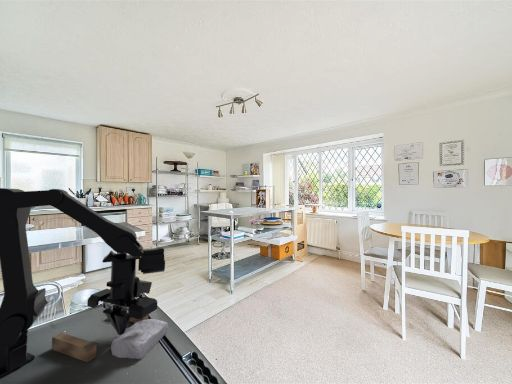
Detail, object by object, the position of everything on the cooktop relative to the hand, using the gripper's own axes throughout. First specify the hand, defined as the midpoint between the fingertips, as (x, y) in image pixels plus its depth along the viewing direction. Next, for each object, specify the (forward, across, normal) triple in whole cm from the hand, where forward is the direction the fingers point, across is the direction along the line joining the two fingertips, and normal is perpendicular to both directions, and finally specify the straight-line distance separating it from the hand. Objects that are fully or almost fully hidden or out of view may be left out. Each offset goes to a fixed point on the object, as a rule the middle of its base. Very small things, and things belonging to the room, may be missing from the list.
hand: (121, 334), depth 60 cm
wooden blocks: (+1, +6, 0) cm, 6 cm away
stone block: (+2, -6, -1) cm, 6 cm away
